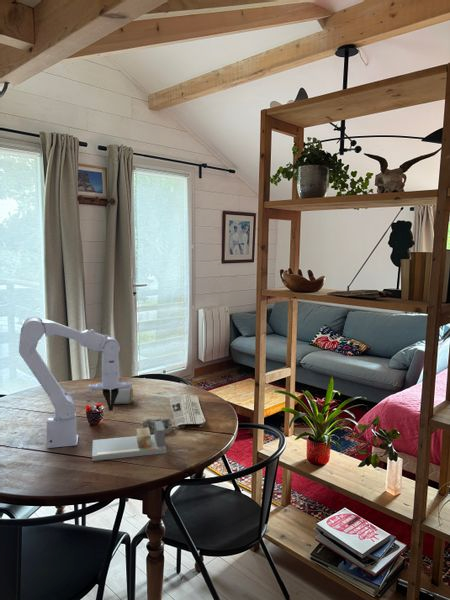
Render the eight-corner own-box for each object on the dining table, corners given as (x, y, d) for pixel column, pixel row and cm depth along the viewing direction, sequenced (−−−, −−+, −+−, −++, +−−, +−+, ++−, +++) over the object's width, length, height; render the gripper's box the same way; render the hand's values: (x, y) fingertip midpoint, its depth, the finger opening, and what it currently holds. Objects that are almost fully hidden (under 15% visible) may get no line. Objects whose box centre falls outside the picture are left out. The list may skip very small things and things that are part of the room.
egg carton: (141, 435, 156) (141, 424, 155) (143, 427, 163) (143, 416, 163) (171, 434, 157) (171, 423, 156) (172, 426, 164) (172, 416, 164)
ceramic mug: (131, 406, 185) (131, 388, 184) (111, 406, 184) (111, 388, 183) (133, 398, 195) (133, 381, 194) (115, 398, 194) (115, 381, 193)
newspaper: (168, 399, 194) (169, 392, 194) (196, 398, 197) (196, 391, 196) (176, 432, 160) (176, 422, 160) (209, 430, 163) (210, 420, 162)
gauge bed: (92, 460, 136) (91, 439, 135) (92, 444, 147) (92, 424, 147) (166, 453, 142) (166, 432, 141) (161, 437, 154) (161, 418, 153)
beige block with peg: (138, 450, 140) (138, 439, 140) (136, 438, 149) (136, 428, 148) (151, 448, 141) (151, 438, 141) (148, 437, 150) (148, 427, 149)
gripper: (88, 376, 146) (88, 415, 148) (132, 373, 150) (132, 412, 152) (88, 370, 153) (89, 408, 155) (131, 368, 157) (131, 405, 159)
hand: (110, 409), depth 154 cm, fingers closed
